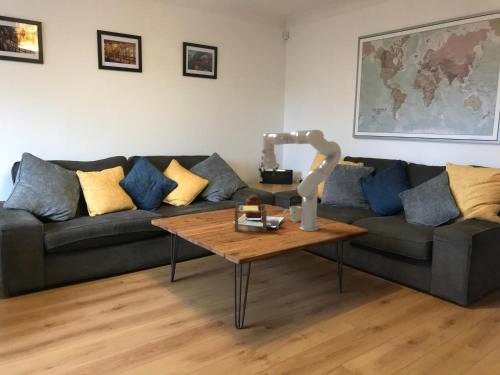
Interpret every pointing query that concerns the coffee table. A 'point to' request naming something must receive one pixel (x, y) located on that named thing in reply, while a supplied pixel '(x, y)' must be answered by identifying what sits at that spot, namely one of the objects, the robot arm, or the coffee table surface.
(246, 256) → the coffee table surface
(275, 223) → the stone
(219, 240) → the coffee table surface
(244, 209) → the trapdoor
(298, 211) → the mug
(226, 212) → the coffee table surface
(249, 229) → the frame
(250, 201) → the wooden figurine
